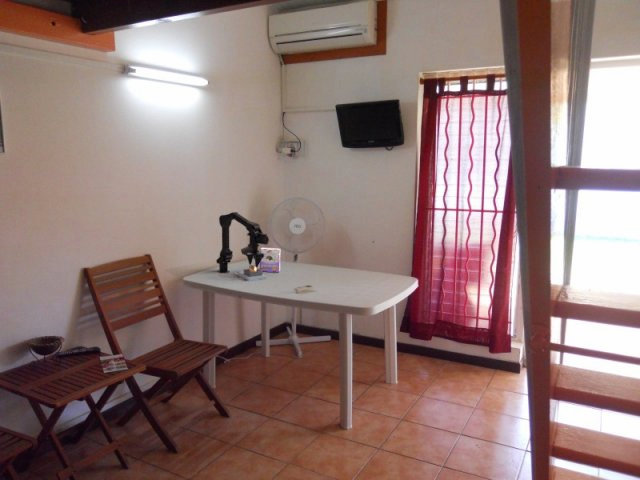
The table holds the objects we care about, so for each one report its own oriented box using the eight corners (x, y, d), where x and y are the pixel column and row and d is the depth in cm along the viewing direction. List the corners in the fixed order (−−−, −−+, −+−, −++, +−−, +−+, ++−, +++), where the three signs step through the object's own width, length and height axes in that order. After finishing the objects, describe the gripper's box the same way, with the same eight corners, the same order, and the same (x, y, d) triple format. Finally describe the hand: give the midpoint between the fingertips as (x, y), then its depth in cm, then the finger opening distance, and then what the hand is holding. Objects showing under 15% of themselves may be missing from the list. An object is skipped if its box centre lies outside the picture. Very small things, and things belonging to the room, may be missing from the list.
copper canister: (247, 277, 332) (247, 265, 331) (254, 276, 335) (254, 264, 334) (251, 279, 328) (251, 267, 327) (257, 278, 331) (258, 266, 330)
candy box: (280, 271, 354) (281, 248, 352) (278, 272, 349) (279, 249, 346) (261, 269, 356) (261, 247, 353) (259, 271, 350) (260, 248, 347)
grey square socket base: (237, 275, 336) (237, 268, 335) (254, 273, 344) (254, 266, 343) (248, 280, 323) (248, 273, 322) (266, 278, 330) (266, 271, 329)
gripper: (236, 241, 331) (236, 264, 333) (249, 245, 315) (248, 270, 318) (251, 240, 337) (251, 262, 339) (264, 244, 322) (264, 268, 324)
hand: (253, 265), depth 330 cm, fingers open, 9 cm apart
